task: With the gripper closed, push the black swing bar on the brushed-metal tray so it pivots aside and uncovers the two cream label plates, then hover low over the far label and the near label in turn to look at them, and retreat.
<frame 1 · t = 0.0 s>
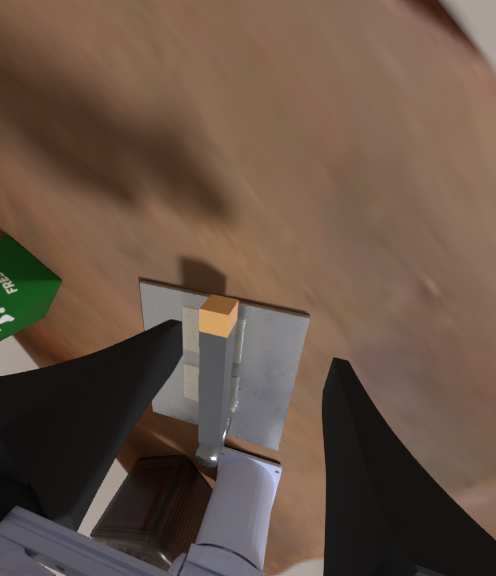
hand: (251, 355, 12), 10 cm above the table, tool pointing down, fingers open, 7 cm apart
manual coffee grinder: (185, 487, 39), on the table
milk carton: (30, 278, 28), on the table
swing arm: (215, 379, 23), point 3 cm above the table, hinge at 0.0°
tray base: (217, 370, 27), on the table
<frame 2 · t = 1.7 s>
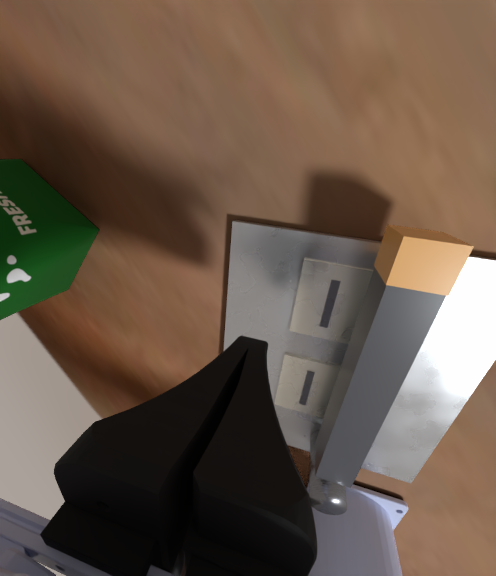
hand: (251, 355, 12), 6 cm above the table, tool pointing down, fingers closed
milk carton: (49, 230, 20), on the table
swing arm: (366, 377, 14), point 3 cm above the table, hinge at 0.0°
tray base: (333, 364, 18), on the table
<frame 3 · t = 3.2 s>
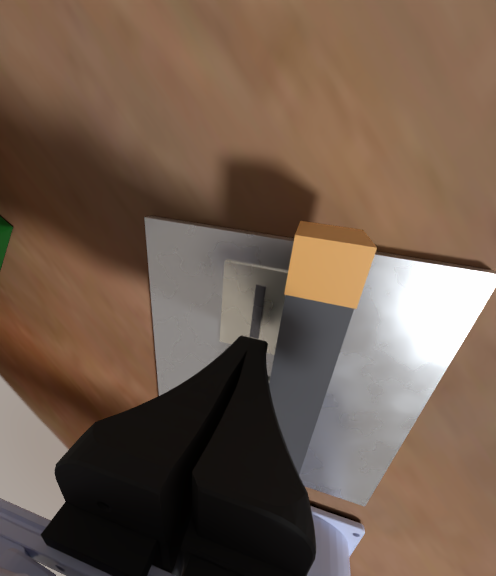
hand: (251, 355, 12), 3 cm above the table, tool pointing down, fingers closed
swing arm: (291, 397, 12), point 3 cm above the table, hinge at 0.0°, touching gripper
tray base: (274, 378, 16), on the table
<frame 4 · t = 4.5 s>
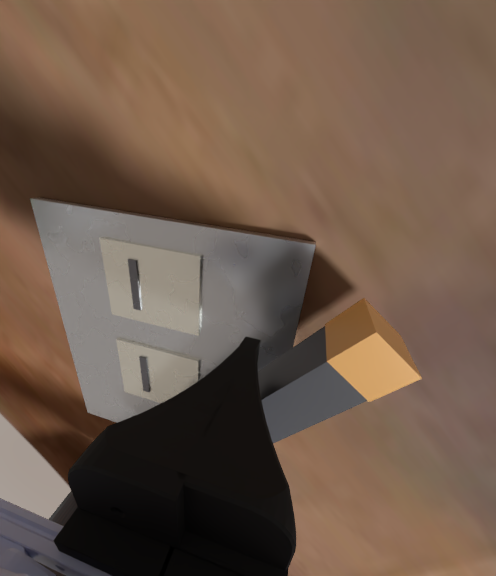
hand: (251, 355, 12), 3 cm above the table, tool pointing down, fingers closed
manual coffee grinder: (146, 513, 30), on the table
swing arm: (250, 413, 13), point 3 cm above the table, hinge at -36.4°, touching gripper
tray base: (169, 350, 17), on the table
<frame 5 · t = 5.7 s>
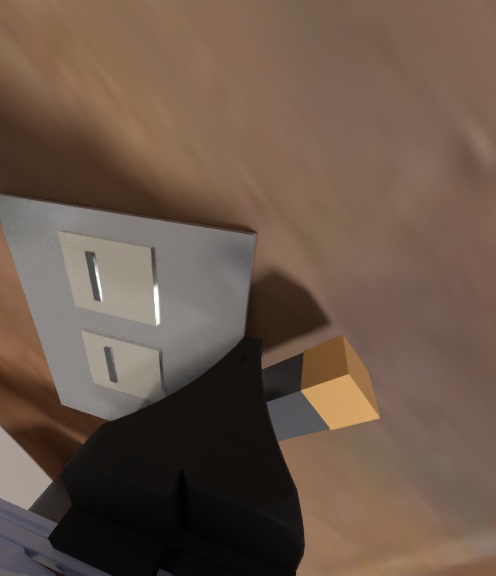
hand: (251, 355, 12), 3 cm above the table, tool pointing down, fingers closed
manual coffee grinder: (126, 505, 30), on the table
swing arm: (221, 419, 14), point 3 cm above the table, hinge at -46.9°, touching gripper
tray base: (133, 341, 18), on the table
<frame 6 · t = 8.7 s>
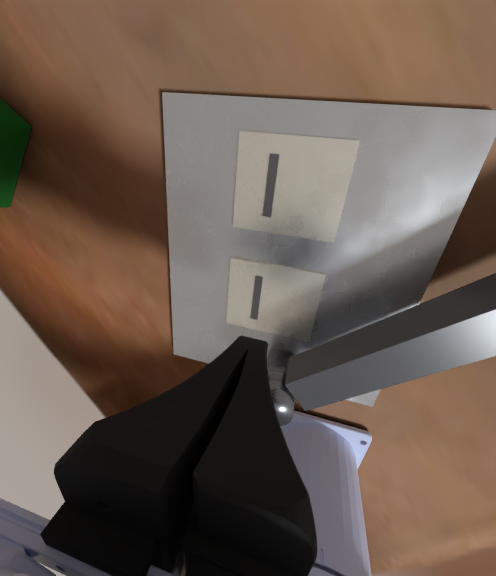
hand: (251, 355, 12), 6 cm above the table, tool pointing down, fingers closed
swing arm: (433, 334, 12), point 3 cm above the table, hinge at -47.3°
tray base: (284, 270, 16), on the table
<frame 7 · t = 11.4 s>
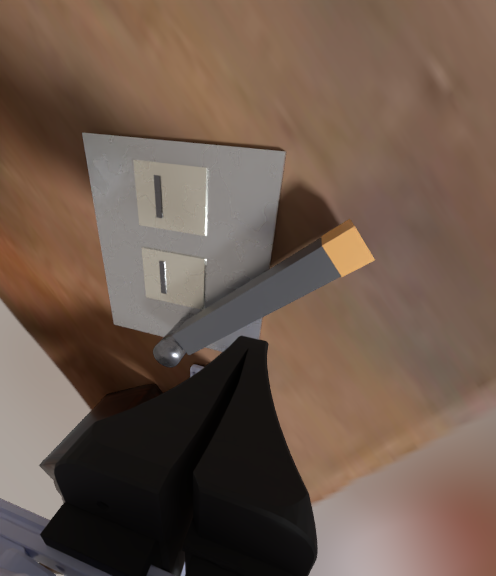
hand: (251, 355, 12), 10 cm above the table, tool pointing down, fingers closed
manual coffee grinder: (158, 429, 35), on the table
swing arm: (258, 296, 18), point 3 cm above the table, hinge at -47.3°
tray base: (181, 257, 22), on the table
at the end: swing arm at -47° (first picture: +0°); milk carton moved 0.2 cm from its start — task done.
